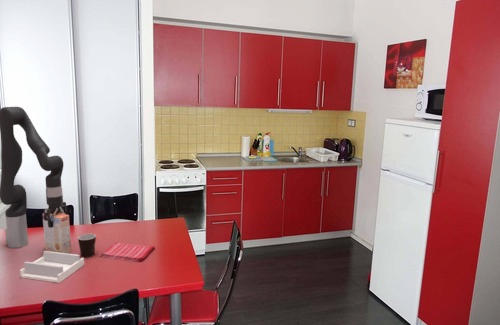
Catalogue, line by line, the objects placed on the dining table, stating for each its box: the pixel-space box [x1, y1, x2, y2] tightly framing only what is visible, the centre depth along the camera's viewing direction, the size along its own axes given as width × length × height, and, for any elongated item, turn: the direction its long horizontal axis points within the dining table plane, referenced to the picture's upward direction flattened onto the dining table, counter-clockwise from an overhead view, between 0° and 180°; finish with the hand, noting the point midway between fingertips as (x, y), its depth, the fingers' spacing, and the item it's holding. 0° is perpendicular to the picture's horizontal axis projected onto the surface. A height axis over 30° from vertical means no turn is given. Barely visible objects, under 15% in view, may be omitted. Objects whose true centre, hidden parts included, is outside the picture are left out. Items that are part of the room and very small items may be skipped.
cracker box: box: [42, 212, 72, 254], centre depth 194 cm, size 14×6×21 cm, turn 62°
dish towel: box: [99, 242, 156, 263], centre depth 197 cm, size 17×24×3 cm
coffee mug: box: [77, 233, 97, 258], centre depth 194 cm, size 12×9×10 cm
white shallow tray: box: [19, 250, 85, 284], centre depth 175 cm, size 20×18×6 cm
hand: (56, 224), depth 193 cm, fingers open, 8 cm apart
